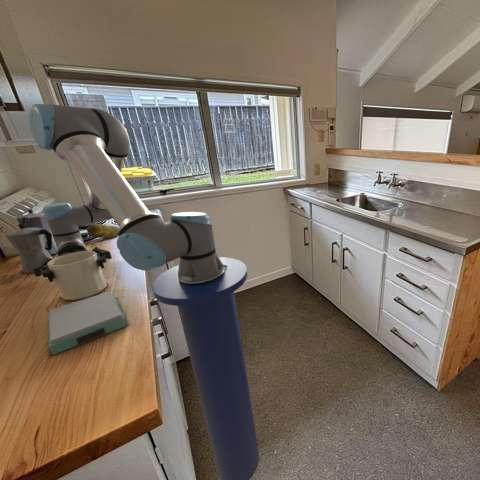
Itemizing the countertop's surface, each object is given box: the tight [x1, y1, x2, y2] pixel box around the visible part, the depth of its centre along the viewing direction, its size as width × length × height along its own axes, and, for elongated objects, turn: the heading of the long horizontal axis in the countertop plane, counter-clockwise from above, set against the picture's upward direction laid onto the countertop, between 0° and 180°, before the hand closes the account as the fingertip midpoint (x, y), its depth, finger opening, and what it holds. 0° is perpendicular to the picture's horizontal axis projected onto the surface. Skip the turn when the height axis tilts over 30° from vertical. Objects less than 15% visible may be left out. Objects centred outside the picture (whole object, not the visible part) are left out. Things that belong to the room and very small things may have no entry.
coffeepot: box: [4, 223, 54, 274], centre depth 97 cm, size 15×9×18 cm, turn 94°
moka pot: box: [15, 208, 58, 256], centre depth 109 cm, size 10×15×20 cm, turn 33°
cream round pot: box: [48, 250, 108, 301], centre depth 81 cm, size 11×11×12 cm
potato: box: [86, 223, 120, 239], centre depth 131 cm, size 8×13×8 cm, turn 133°
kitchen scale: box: [47, 290, 128, 356], centre depth 67 cm, size 14×19×3 cm
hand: (77, 270), depth 77 cm, fingers closed on cream round pot, 11 cm apart
